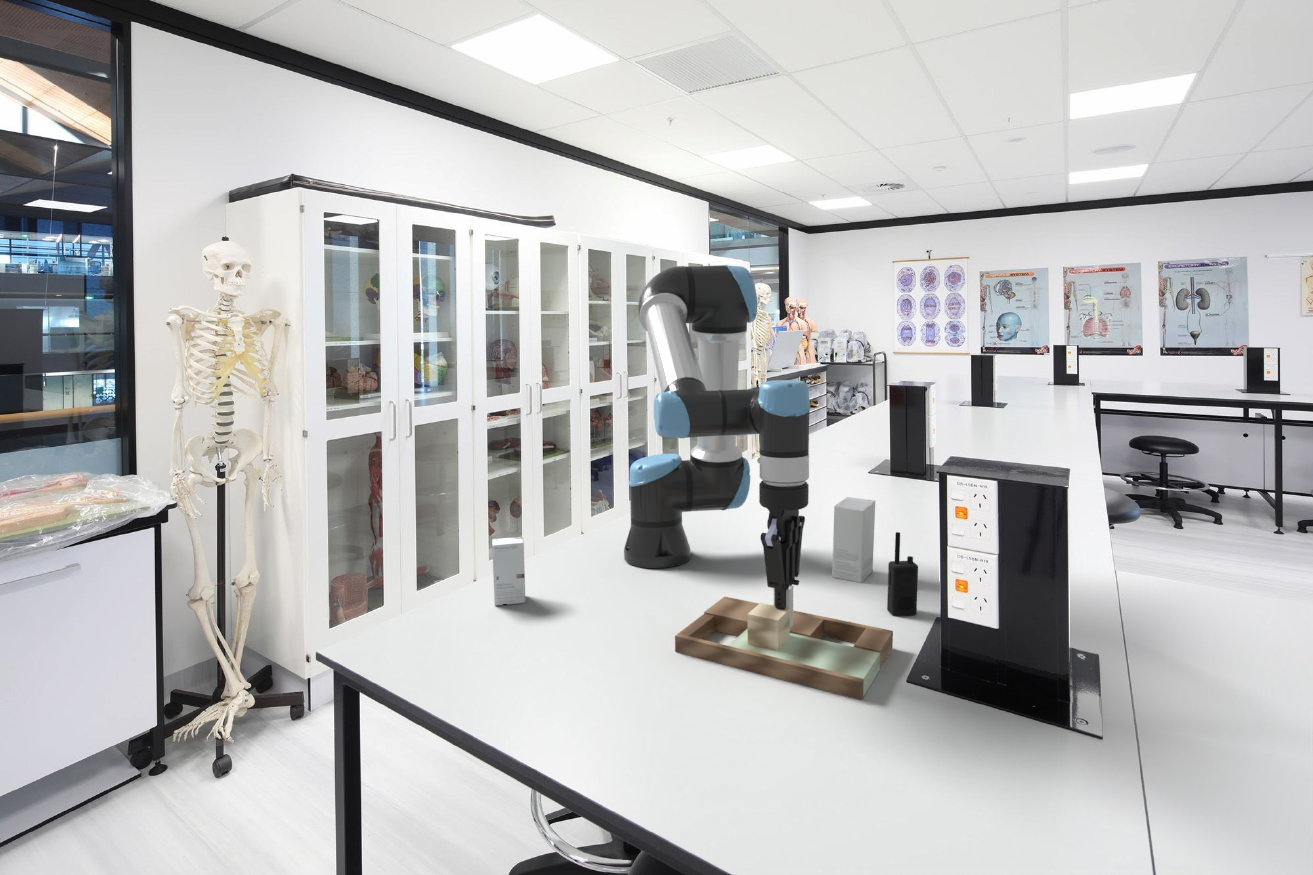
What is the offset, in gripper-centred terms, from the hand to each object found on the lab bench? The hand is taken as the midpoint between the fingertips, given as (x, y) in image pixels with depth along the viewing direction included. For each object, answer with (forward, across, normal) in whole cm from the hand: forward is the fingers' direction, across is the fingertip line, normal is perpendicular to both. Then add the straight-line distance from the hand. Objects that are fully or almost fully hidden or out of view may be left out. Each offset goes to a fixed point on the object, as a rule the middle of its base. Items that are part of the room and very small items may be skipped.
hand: (783, 624), depth 111 cm
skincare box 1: (+5, +6, -54) cm, 55 cm away
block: (+2, +3, -1) cm, 4 cm away
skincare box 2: (+5, -39, 0) cm, 40 cm away
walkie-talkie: (+5, -24, +13) cm, 28 cm away
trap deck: (+5, 0, 0) cm, 5 cm away
